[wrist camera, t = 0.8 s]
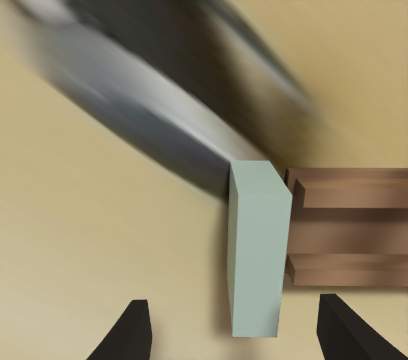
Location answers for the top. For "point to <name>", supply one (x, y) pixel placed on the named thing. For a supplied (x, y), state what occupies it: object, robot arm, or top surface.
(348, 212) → the floor track
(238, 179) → the pale teal block
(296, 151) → the top surface
